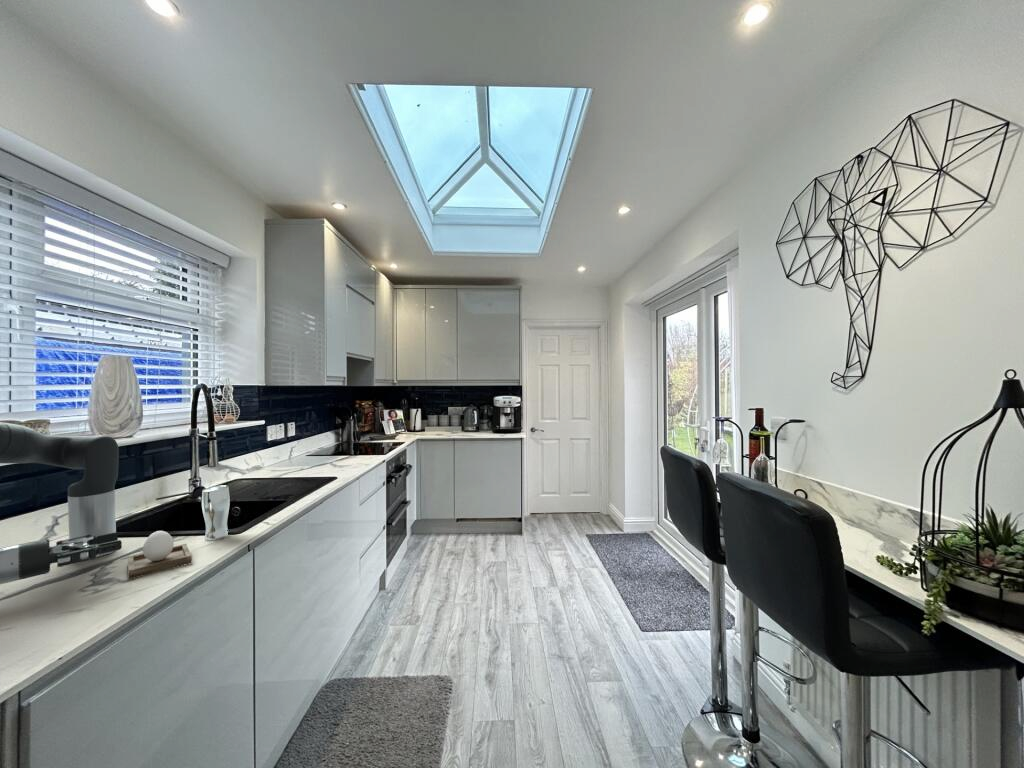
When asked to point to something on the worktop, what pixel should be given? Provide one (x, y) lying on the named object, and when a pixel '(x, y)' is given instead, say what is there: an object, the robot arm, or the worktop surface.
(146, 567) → the walnut tray
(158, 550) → the egg
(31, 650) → the worktop surface
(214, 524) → the beer glass
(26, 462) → the robot arm
